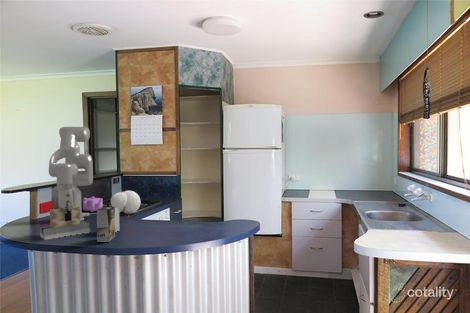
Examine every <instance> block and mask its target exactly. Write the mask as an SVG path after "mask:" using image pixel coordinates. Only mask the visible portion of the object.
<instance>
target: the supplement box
mask: <svg viewBox="0 0 470 313" xmlns="http://www.w3.org/2000/svg"><path fill="white" fill-rule="evenodd" d="M120 230H121V229H120V213H119V209H115V232H116V233H118V232H117V231H119V232H120Z"/></svg>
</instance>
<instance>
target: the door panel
mask: <svg viewBox="0 0 470 313" xmlns="http://www.w3.org/2000/svg"><path fill="white" fill-rule="evenodd" d="M71 211H72V220H71V221H65V209H62V208H60V209H59V208H52V209H49V226H50V228H56V227H62V226H69V225H76V224H80V222H81V221H80V207H78V206H77V207H73V208H72V210H71Z"/></svg>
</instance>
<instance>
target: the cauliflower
mask: <svg viewBox="0 0 470 313" xmlns="http://www.w3.org/2000/svg"><path fill="white" fill-rule="evenodd" d="M110 206H111V207H115V209H119V214H120V213H121V212H123V213H124V214H126V215H132V214H134V213H136V212H137V211H138V210H139V209H140V206H141V198H140V195H139V194H138V193H137V192H135V191H133V190H125V191H119V192H117V193H114V194H113V195H112V196H111V197H110Z"/></svg>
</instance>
